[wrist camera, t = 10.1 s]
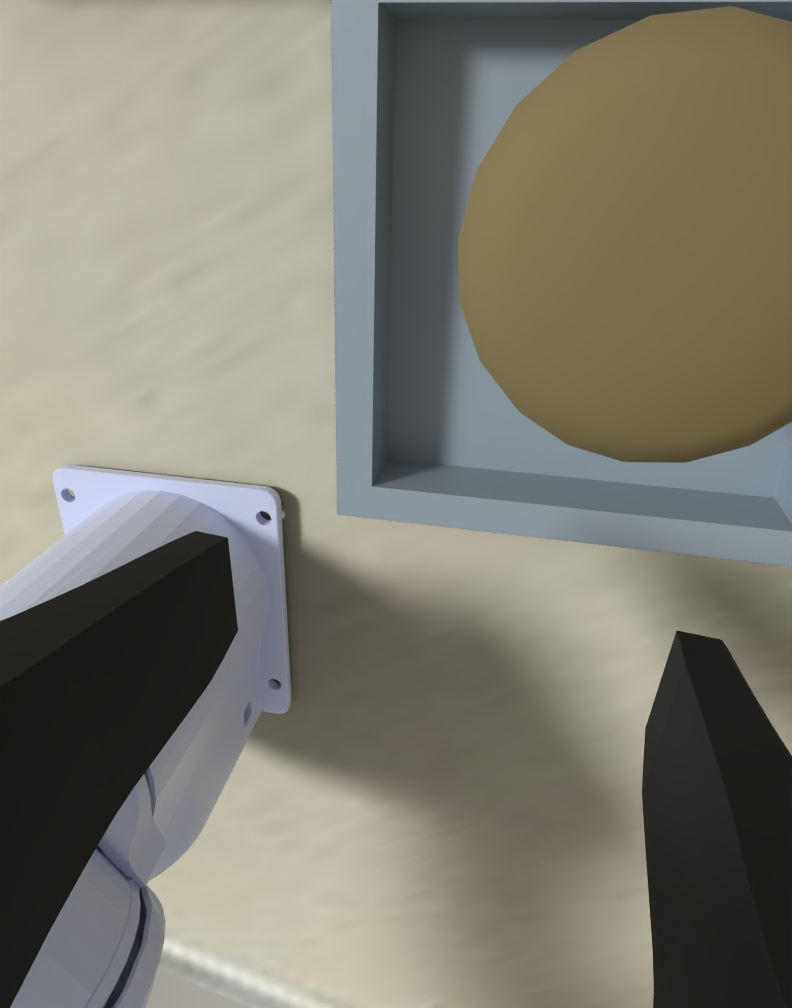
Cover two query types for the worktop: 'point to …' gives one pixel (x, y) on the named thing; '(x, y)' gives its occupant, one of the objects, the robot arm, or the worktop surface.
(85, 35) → the worktop surface
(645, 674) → the worktop surface
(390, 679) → the worktop surface
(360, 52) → the parts tray
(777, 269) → the cork
